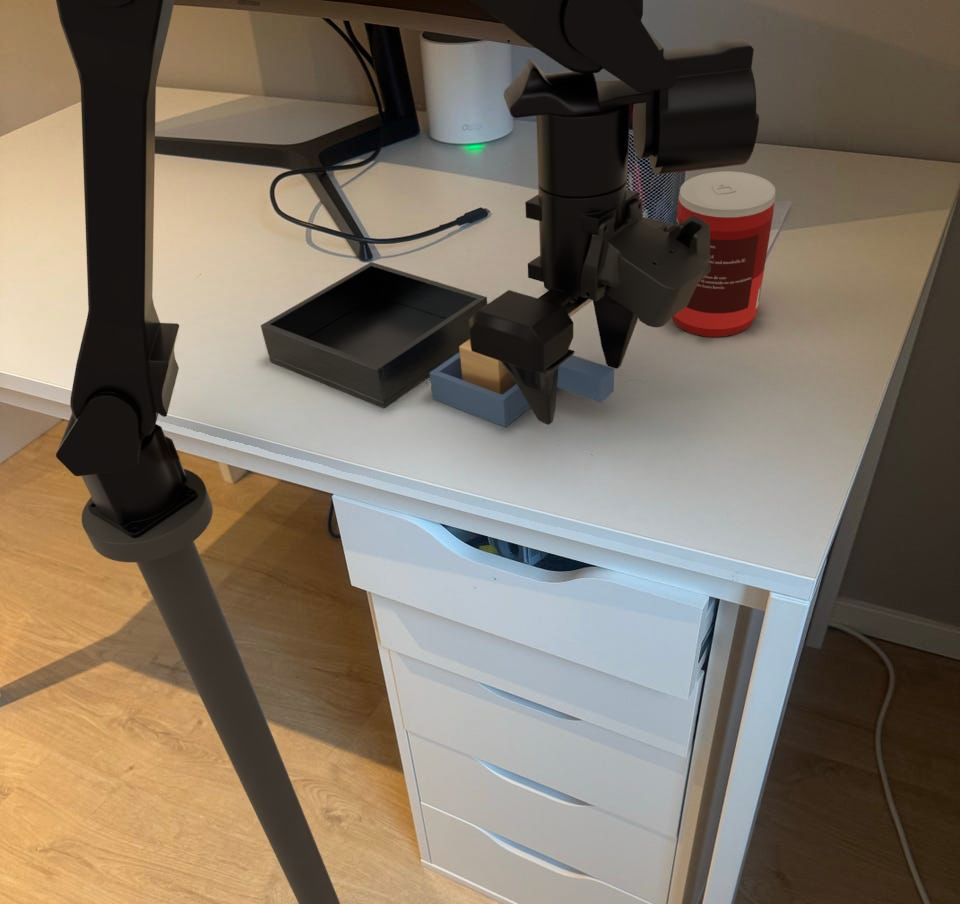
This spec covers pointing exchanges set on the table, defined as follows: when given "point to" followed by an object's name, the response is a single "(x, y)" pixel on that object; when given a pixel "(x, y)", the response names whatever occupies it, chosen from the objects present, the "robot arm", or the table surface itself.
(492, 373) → the block
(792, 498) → the table surface
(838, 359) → the table surface
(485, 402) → the scoop
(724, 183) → the canned food
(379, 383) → the black square tray
